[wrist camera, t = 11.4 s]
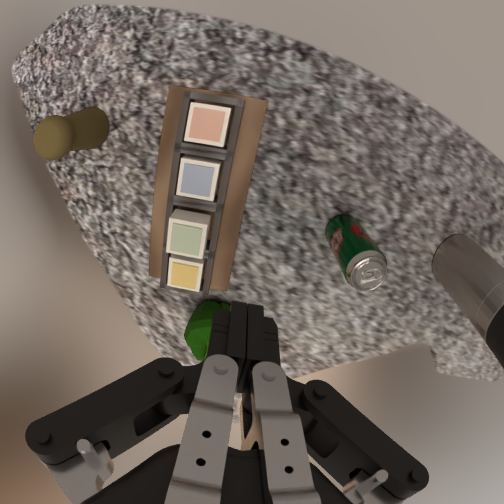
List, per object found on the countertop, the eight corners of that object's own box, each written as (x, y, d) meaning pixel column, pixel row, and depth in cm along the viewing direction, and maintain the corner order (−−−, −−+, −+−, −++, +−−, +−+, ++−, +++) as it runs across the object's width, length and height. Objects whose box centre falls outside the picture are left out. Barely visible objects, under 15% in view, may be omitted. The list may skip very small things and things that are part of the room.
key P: (206, 253, 41) (202, 265, 38) (202, 280, 43) (198, 293, 40) (174, 247, 40) (168, 258, 38) (172, 274, 42) (166, 286, 40)
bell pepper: (212, 282, 46) (202, 326, 37) (252, 311, 48) (252, 357, 39) (180, 313, 48) (167, 357, 40) (219, 339, 51) (213, 383, 42)
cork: (116, 134, 35) (73, 147, 25) (85, 156, 36) (39, 177, 27) (98, 98, 33) (51, 101, 23) (67, 122, 34) (19, 134, 24)
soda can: (323, 215, 40) (347, 257, 30) (358, 211, 40) (392, 251, 29) (325, 248, 43) (346, 297, 32) (358, 244, 42) (388, 290, 32)
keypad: (267, 101, 34) (269, 100, 30) (227, 286, 46) (225, 303, 42) (172, 86, 33) (162, 84, 29) (150, 271, 45) (142, 286, 41)
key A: (211, 215, 36) (207, 226, 33) (205, 247, 38) (201, 260, 35) (175, 208, 36) (168, 218, 33) (172, 241, 38) (165, 253, 35)
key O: (232, 108, 32) (230, 108, 29) (225, 143, 34) (222, 147, 31) (196, 102, 32) (190, 102, 29) (189, 137, 34) (183, 140, 31)
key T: (222, 159, 35) (219, 164, 32) (216, 193, 37) (212, 202, 34) (186, 153, 35) (180, 158, 32) (181, 187, 37) (175, 195, 34)
